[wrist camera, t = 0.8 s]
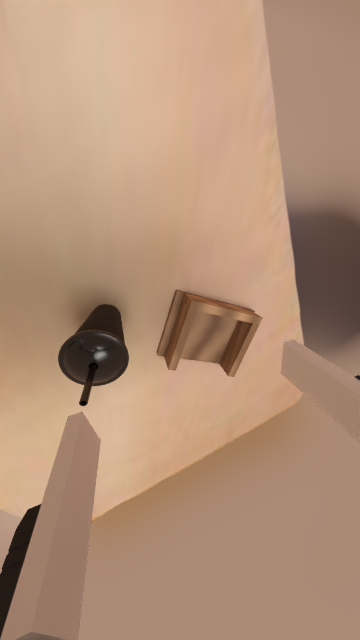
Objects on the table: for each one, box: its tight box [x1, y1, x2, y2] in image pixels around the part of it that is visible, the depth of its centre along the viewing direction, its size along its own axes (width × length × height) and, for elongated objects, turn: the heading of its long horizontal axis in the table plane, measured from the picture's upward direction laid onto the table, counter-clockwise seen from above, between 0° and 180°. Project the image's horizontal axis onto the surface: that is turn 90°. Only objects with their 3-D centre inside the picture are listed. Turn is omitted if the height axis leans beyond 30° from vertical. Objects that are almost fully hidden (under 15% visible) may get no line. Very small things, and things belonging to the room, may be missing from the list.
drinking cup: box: [58, 304, 129, 406], centre depth 25 cm, size 8×8×20 cm
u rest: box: [157, 290, 262, 377], centre depth 38 cm, size 18×14×6 cm
